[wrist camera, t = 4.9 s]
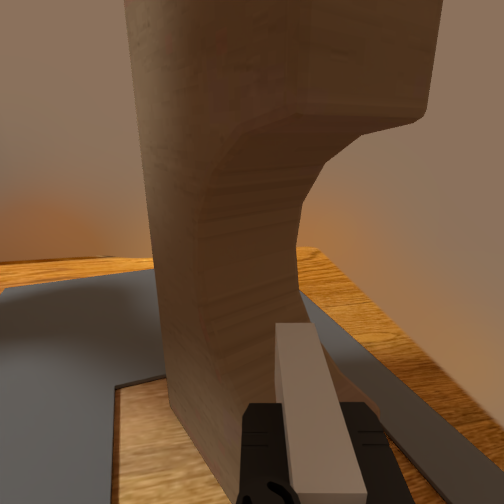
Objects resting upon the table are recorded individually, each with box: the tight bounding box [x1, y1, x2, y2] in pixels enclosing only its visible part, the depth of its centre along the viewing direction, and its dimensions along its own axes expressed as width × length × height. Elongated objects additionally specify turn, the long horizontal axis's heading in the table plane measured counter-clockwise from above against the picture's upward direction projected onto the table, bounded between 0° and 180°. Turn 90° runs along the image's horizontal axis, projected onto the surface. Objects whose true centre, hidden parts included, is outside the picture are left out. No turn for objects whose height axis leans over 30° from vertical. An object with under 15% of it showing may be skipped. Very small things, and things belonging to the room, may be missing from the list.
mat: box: [0, 269, 504, 504], centre depth 35 cm, size 50×41×1 cm
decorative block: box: [124, 0, 443, 504], centre depth 20 cm, size 15×8×30 cm, turn 36°
